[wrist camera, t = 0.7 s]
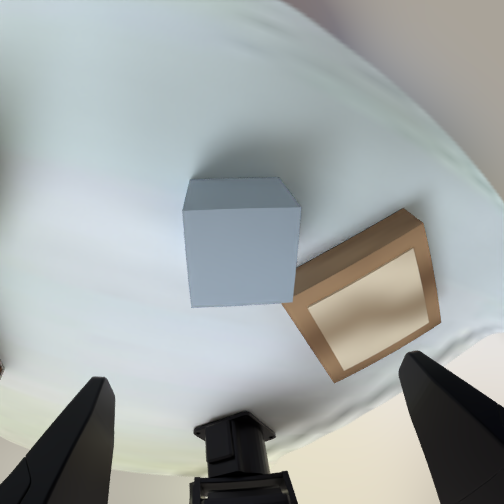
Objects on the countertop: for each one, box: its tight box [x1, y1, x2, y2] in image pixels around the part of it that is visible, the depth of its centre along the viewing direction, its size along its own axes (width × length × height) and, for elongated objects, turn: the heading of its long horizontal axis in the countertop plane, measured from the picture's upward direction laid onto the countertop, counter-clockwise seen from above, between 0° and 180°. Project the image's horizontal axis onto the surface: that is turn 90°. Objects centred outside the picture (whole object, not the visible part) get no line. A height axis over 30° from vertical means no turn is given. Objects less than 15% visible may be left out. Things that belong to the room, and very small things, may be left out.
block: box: [182, 177, 301, 308], centre depth 17 cm, size 5×5×5 cm
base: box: [281, 208, 441, 383], centre depth 21 cm, size 10×10×3 cm
